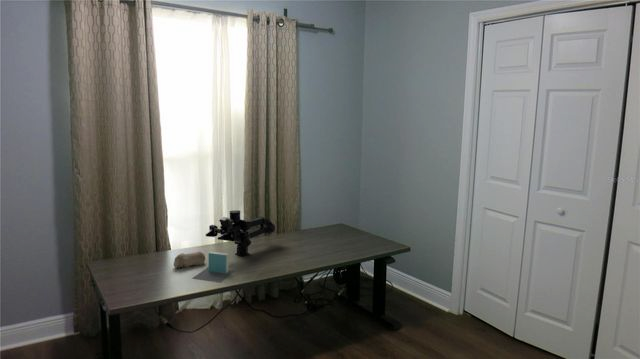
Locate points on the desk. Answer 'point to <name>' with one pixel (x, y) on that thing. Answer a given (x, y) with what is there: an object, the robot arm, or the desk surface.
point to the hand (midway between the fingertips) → (211, 236)
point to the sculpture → (189, 259)
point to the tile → (218, 262)
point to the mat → (213, 275)
